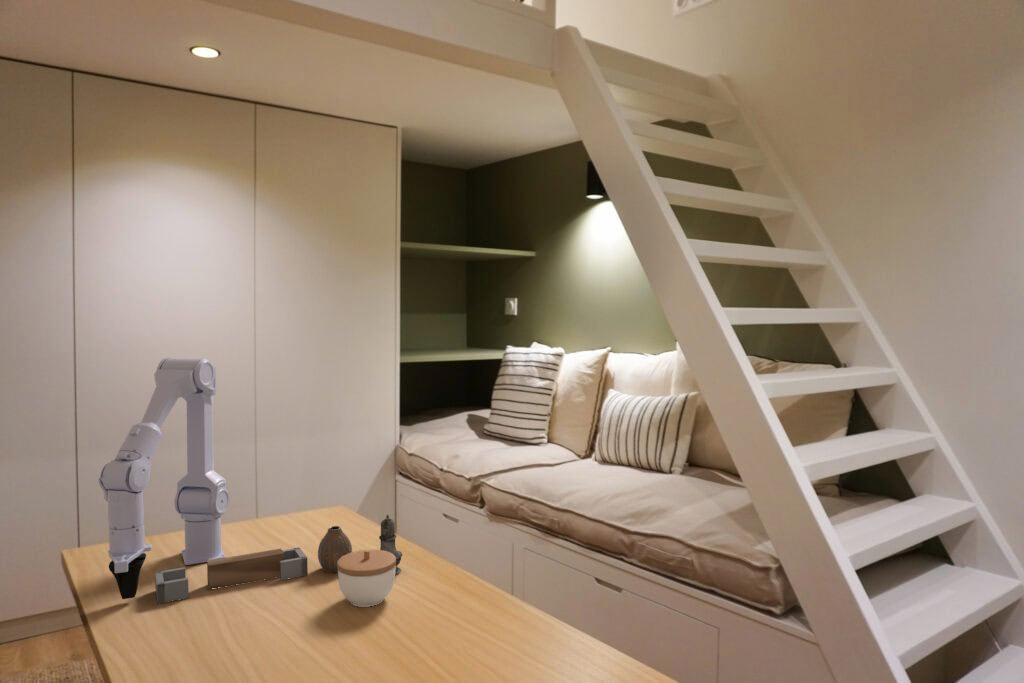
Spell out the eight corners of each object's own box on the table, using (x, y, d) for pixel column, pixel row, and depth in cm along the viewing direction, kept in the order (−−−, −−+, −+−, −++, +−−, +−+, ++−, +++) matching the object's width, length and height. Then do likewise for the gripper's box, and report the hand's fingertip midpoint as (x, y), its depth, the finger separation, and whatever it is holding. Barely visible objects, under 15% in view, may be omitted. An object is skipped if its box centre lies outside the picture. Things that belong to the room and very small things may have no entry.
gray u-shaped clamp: (155, 590, 134) (155, 572, 134) (185, 585, 136) (184, 567, 136) (157, 604, 128) (157, 585, 128) (188, 598, 130) (188, 579, 130)
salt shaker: (407, 568, 145) (407, 511, 144) (394, 579, 139) (393, 520, 139) (382, 565, 147) (382, 509, 146) (368, 575, 141) (367, 517, 140)
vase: (356, 563, 148) (356, 522, 147) (345, 576, 141) (345, 533, 140) (325, 562, 148) (324, 521, 148) (312, 575, 142) (312, 532, 141)
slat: (207, 585, 137) (207, 560, 136) (281, 572, 144) (280, 548, 143) (209, 591, 134) (208, 565, 134) (284, 577, 141) (283, 553, 141)
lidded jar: (407, 594, 132) (407, 545, 132) (373, 617, 122) (373, 565, 122) (361, 584, 137) (360, 537, 136) (325, 606, 127) (324, 556, 126)
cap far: (274, 568, 145) (273, 551, 145) (299, 564, 147) (299, 547, 147) (281, 580, 139) (280, 562, 139) (307, 575, 141) (307, 557, 141)
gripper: (145, 534, 122) (148, 609, 123) (155, 511, 136) (157, 579, 137) (99, 539, 120) (102, 616, 121) (114, 515, 133) (117, 584, 134)
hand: (129, 597), depth 129 cm, fingers closed
